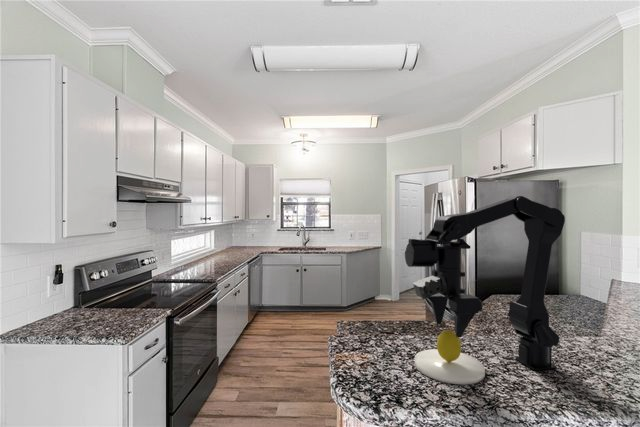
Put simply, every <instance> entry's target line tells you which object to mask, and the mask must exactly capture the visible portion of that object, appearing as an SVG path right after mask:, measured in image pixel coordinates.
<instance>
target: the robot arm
mask: <svg viewBox="0 0 640 427" xmlns="http://www.w3.org/2000/svg"><path fill="white" fill-rule="evenodd" d="M512 215H513V216H514V217H515V218H516V219H517V220H519V221H521V222H523V226H524V230H523V231H524V233H525V236H526V238H527V241H528V246H527V252H526V259H525V265H524V272H523V277H522V278H523V280H522V284H521V291H520V292H521V293H520V297H518V299H516V301H514V300H510V302H509V310H508V313H507V314H506V315H507V317H509V319H508V320H509V321H508V322H509V324H511V326H512V327H513V329H514V332H515V334H516V335H519V336H521V337H519V343H518V356H515V360H517V361H518V362H520V363H522V364H524V365H525V366H526V367H528V368H529V369H531V370H533V371H539V370H541V371H543V370H554V369H555V370H556V369H558V366H557V365H555V364H553V363H552V362H553V360H552V356H553V355H552V354H553V353H552V349H553V347H557V346H558V345H559V343H560V339H561V338H560V336H559V335H558V334H557V333H556V332H555V331H554V329H553V328H551V327H550V314H549V312H548V309H547V307H546V304H545V297H546V296H545V294H546V288H547V283H548V282H547V281H548V275H549V268H550V261H551V254H552V248H553V245H554V243H555V241H556V240H558V238H559V237H560V236H561V235H562V232H563V228H564V226H565V222H566V219H565V218H566V217H565V215H564V214H563V213H562V211H561V210H560V209H559V208H556V207H550V206H548V205H546V204H543V203H539V202H537V201H533V200H531V199H529V198H528V197H525V196H523V195H517V196H516V195H514V196H508V197H507V198H505V199H503V200H500V201H497V202H494V203H491V204H488V205H485V206H482V207H480V208H479V207H478V208H476V209H473V210H471V211H470V210H469V211H467V212H463V213H454V214H447V215H441V216H438V217H437V218H436V219H435V221H434V223H433V228H431V230H430V231H429V233H428V234H427V235H426V236H425V238H424V239H417V238H408V244H407V245H406V247H405V251H404V258H405V264H406V266H407V267H409V268H417V267H418V268H432V267H434V266H435V265H436V268H435V269H432V271H431V275H430V276H428V277H424V278H421V279H419V280H416V281H414V282H413V283H412V285H413V288H414V290H415V294H416V297H420V298H421V299H422V300H428V301H429V304H430V305H431V308H432V312H433V317H434V321H435V323H436V324H437V325H441V324H442V322H443V319H444V315H445V312H446V308H447V305H448V306H449V307H448V311H449V312H450V313H451V314H452V315H453V323H454V333H455V334H456V337H458V338H461V337H463V335H464V333H465V331H466V329H467V328H468V325H469V324H470V323H471V321H472V320H473V318H474V316H476V314H479V312H483V301H482V300H481V298H479V297H477V296H475V295H473V294H470V293H469V294H466V290H465V288H462V277H463V278H465V276H466V271H462V250H463V249H464V250H469V249H471V247H472V246H471V245H469V243H467V242H466V240H465V239H464V237H466V236H468V235H469V234H471V233H472V232H473V231H474V230H475V229H477V228H478V227H480V226H481V227H482V226H484V225H486V224H490V223H493V222H494V221H498V220H501V219H504V218H506V217H509V216H512Z"/></svg>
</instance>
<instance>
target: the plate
mask: <svg viewBox="0 0 640 427" xmlns="http://www.w3.org/2000/svg"><path fill="white" fill-rule="evenodd" d="M414 367H415V368H416V369H417V370H418V371H419V372H420V373H421V374H423V375H424V376H427V377H428V378H431V379H433V380H436V381H439V382H442V383H447V384H453V385H473V384H476V383H477V384H478V383H479V382H481V381H482V380H484V379H485V377H486V374H485V373H486V368H485V365H483V363H482V362H480V361H479V360H478V359H477V358H474V357H473V356H470V355H468V354H466V353H463V352H461V353H460V356H459V357H458V359H456V360H454V361H451V362H450V363H448V362H447V361H446V360H444V359H443V358H442V357H441V356H440V355H439V353H438V350H437V348H433V349H432V348H431V349H424V350H422V351H419V352H417V353H416V354H415V355H414Z"/></svg>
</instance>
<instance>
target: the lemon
mask: <svg viewBox="0 0 640 427" xmlns="http://www.w3.org/2000/svg"><path fill="white" fill-rule="evenodd" d="M461 344H462V343H461V340H460V337H456V333H455V332H453V331H452V330H450V329H447V330H444V331H442V332H441V333H440V334H439V335H438V337H437V342H436V349H437V350H438V353H439V355H440V356H441V357H442V358H443V359H444V360H446V361H447V362H448V363H450V362H451V361H454V360H456V359H458V357H459V356H460V353H462V345H461Z"/></svg>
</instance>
